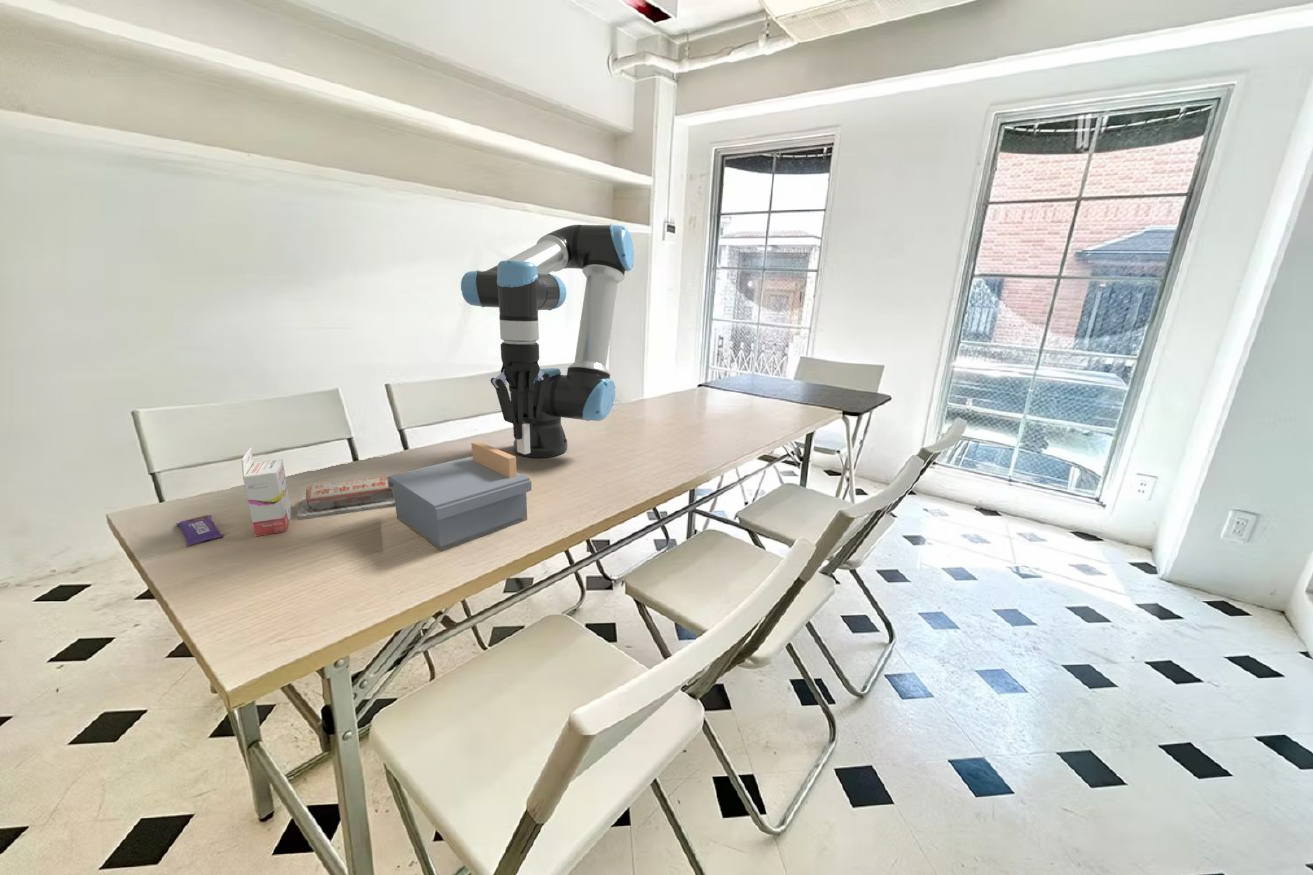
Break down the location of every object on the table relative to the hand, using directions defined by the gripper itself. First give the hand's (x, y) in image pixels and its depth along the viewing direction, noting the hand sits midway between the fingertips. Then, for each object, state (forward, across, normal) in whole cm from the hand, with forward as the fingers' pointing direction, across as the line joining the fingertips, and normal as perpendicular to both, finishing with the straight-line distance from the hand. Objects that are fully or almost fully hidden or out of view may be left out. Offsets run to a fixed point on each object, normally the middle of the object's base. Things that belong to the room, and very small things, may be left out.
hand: (523, 452), depth 108 cm
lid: (+4, +15, 0) cm, 15 cm away
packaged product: (+12, +27, -23) cm, 38 cm away
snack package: (+12, +51, -28) cm, 59 cm away
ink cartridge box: (+11, +41, -22) cm, 48 cm away
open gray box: (+11, +15, 0) cm, 18 cm away
